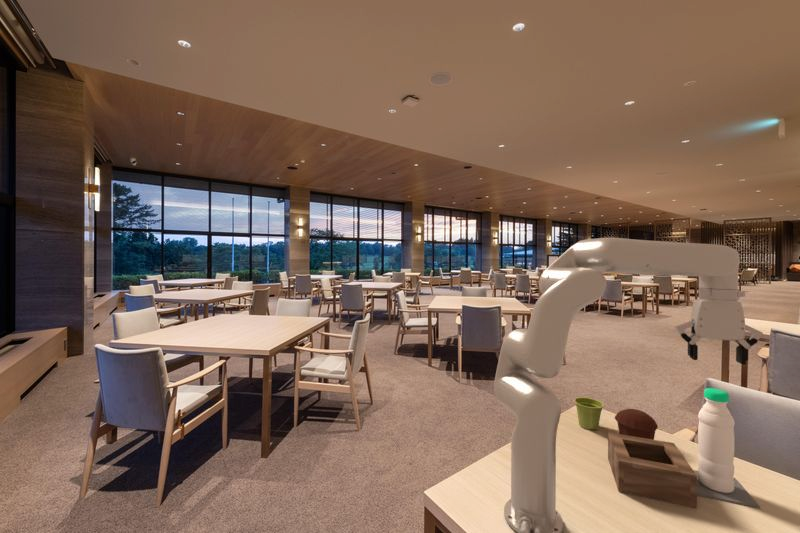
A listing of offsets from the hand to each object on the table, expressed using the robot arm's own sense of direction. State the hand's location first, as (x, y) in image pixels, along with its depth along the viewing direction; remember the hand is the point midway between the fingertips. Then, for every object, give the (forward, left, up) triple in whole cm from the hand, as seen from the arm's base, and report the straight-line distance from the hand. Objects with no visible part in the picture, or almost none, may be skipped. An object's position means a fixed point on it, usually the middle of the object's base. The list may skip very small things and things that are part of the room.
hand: (716, 361), depth 90 cm
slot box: (-4, +16, -33) cm, 37 cm away
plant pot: (+25, +27, -33) cm, 50 cm away
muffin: (+19, +14, -33) cm, 41 cm away
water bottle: (0, 0, -33) cm, 33 cm away
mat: (0, 0, -33) cm, 33 cm away
